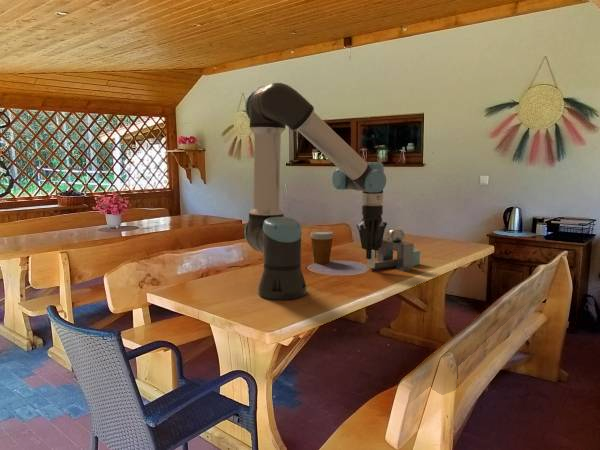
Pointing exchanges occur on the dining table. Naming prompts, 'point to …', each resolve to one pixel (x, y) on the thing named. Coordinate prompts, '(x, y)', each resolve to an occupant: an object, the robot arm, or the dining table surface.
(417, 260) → the mallet
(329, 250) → the disposable coffee cup
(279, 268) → the robot arm
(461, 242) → the dining table surface
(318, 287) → the dining table surface
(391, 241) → the housing
